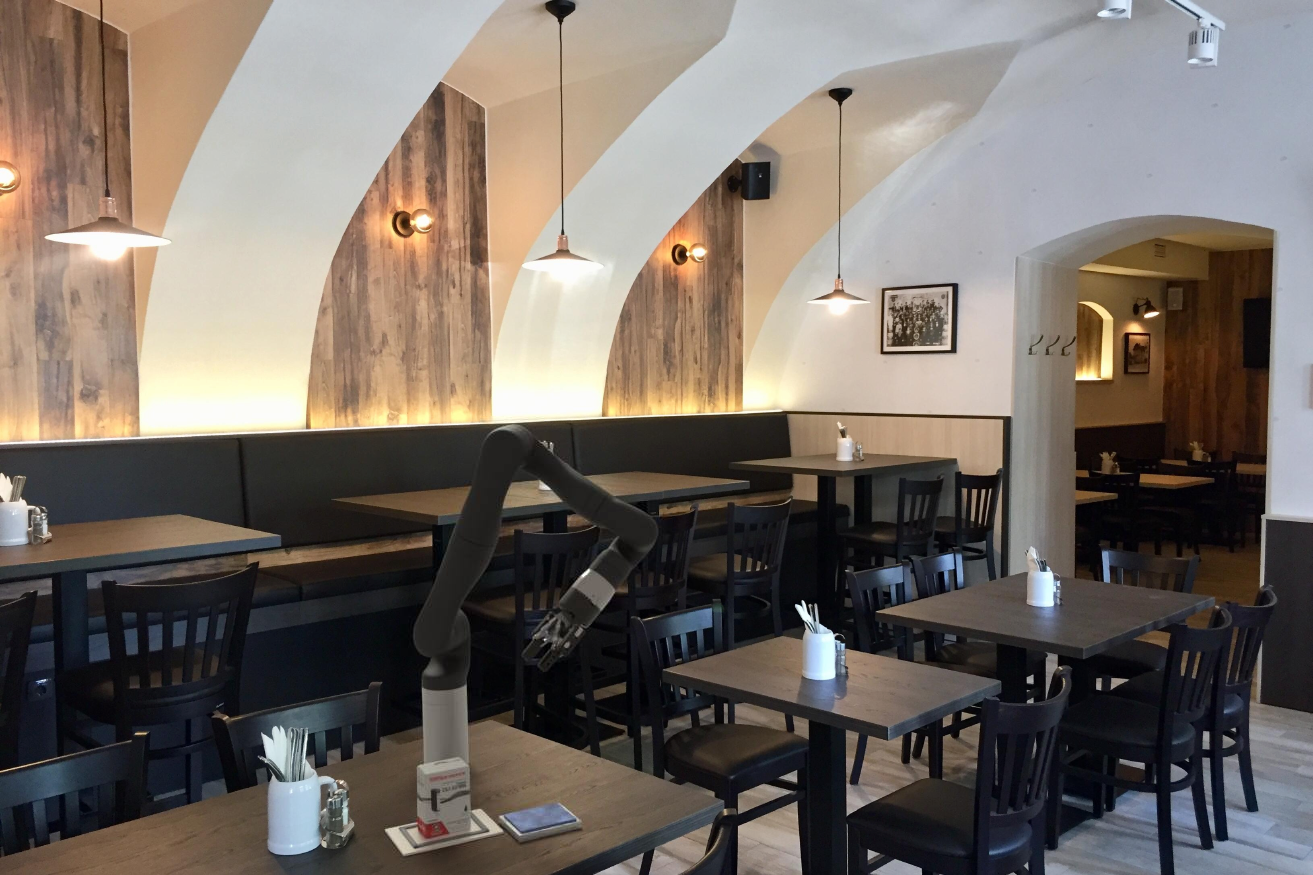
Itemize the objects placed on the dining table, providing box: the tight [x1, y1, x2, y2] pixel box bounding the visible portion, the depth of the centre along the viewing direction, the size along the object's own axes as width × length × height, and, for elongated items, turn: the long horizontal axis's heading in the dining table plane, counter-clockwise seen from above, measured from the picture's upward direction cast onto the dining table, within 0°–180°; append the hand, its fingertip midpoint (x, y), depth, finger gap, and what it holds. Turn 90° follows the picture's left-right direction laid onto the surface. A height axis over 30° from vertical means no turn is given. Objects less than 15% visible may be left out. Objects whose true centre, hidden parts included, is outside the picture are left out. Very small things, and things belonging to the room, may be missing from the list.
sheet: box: [384, 808, 505, 857], centre depth 190 cm, size 12×18×1 cm, turn 119°
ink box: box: [416, 757, 472, 839], centre depth 190 cm, size 8×5×12 cm, turn 121°
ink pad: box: [498, 802, 583, 843], centre depth 193 cm, size 10×12×2 cm
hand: (533, 663), depth 203 cm, fingers open, 8 cm apart
